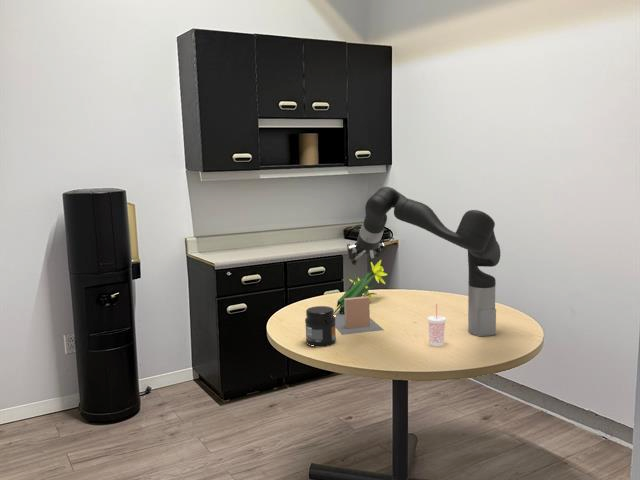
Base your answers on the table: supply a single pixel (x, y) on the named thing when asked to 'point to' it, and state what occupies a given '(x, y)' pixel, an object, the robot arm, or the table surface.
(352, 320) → the tile
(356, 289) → the daffodil flowers
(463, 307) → the table surface
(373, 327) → the felt mat
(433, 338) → the beverage cup
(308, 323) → the supplement container
